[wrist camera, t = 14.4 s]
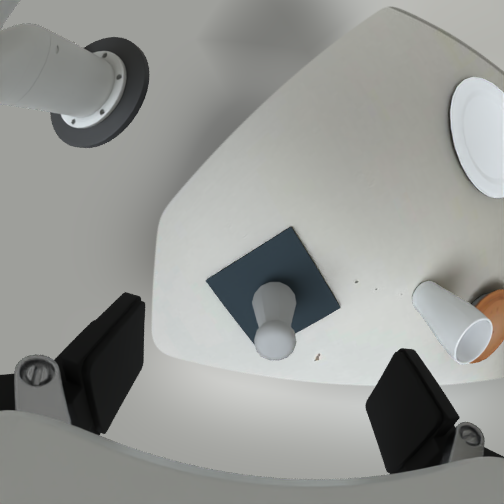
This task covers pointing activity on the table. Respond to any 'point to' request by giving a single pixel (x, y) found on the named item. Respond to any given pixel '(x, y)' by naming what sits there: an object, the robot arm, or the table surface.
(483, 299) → the pie
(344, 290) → the table surface
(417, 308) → the drinking glass
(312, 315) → the mat
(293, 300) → the salt shaker
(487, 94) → the plate
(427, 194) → the table surface
